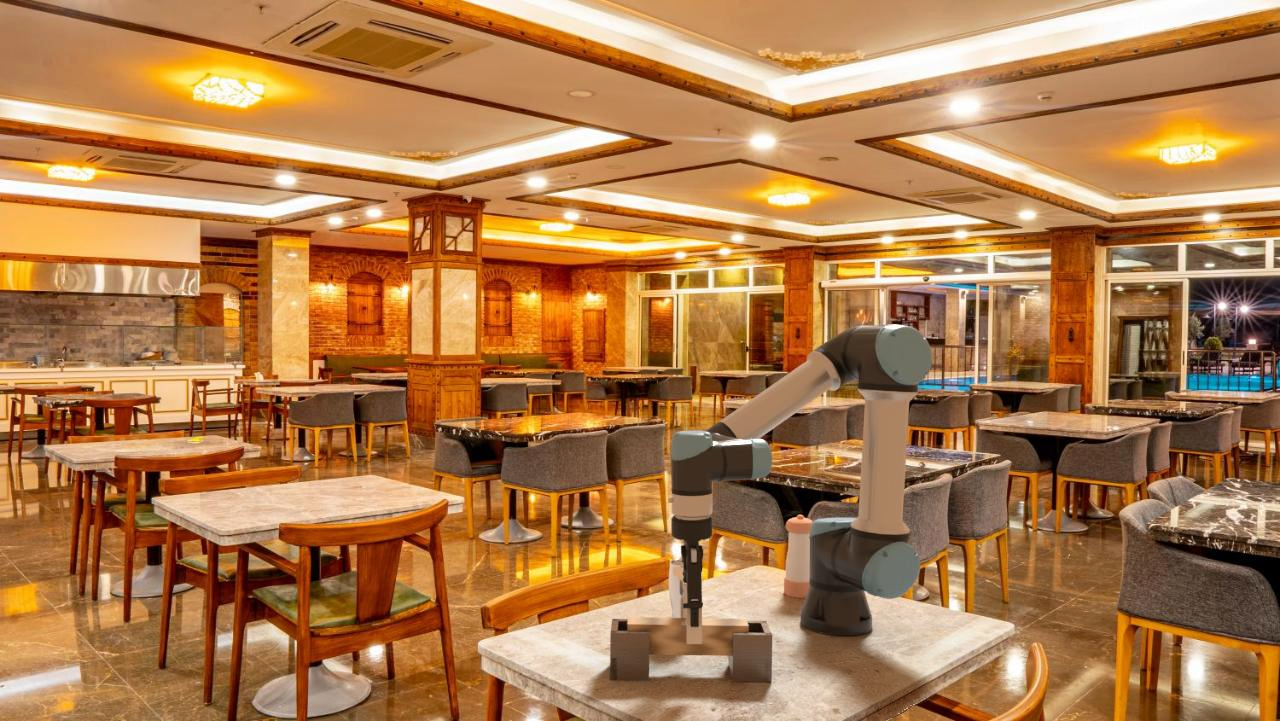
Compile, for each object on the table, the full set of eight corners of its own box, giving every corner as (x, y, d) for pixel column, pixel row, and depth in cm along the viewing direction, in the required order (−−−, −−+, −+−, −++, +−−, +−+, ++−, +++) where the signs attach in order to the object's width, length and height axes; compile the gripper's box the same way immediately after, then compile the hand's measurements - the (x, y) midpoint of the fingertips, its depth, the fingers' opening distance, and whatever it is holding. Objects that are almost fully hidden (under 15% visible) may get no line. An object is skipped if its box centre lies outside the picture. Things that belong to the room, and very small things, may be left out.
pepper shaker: (783, 597, 209) (785, 517, 209) (783, 588, 216) (785, 511, 216) (814, 598, 208) (816, 518, 208) (813, 590, 215) (815, 512, 215)
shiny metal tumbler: (699, 640, 178) (700, 567, 178) (665, 637, 180) (666, 565, 179) (703, 629, 185) (704, 558, 185) (671, 626, 187) (671, 557, 186)
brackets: (765, 665, 165) (766, 620, 165) (771, 682, 157) (772, 635, 157) (611, 663, 165) (612, 618, 165) (610, 679, 157) (610, 633, 157)
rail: (745, 648, 163) (746, 618, 163) (748, 655, 159) (748, 625, 159) (627, 646, 163) (627, 617, 163) (627, 654, 159) (627, 624, 159)
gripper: (669, 502, 173) (670, 608, 173) (673, 531, 148) (674, 655, 149) (707, 502, 173) (708, 608, 173) (717, 531, 148) (718, 655, 148)
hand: (692, 630), depth 161 cm, fingers open, 13 cm apart
